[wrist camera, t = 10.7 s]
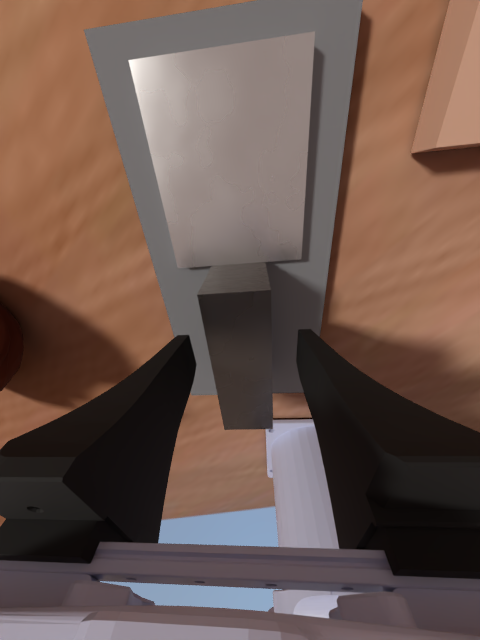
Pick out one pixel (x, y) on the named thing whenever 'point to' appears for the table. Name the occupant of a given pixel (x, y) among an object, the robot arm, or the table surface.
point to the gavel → (9, 346)
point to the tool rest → (322, 162)
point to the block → (453, 84)
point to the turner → (232, 192)
